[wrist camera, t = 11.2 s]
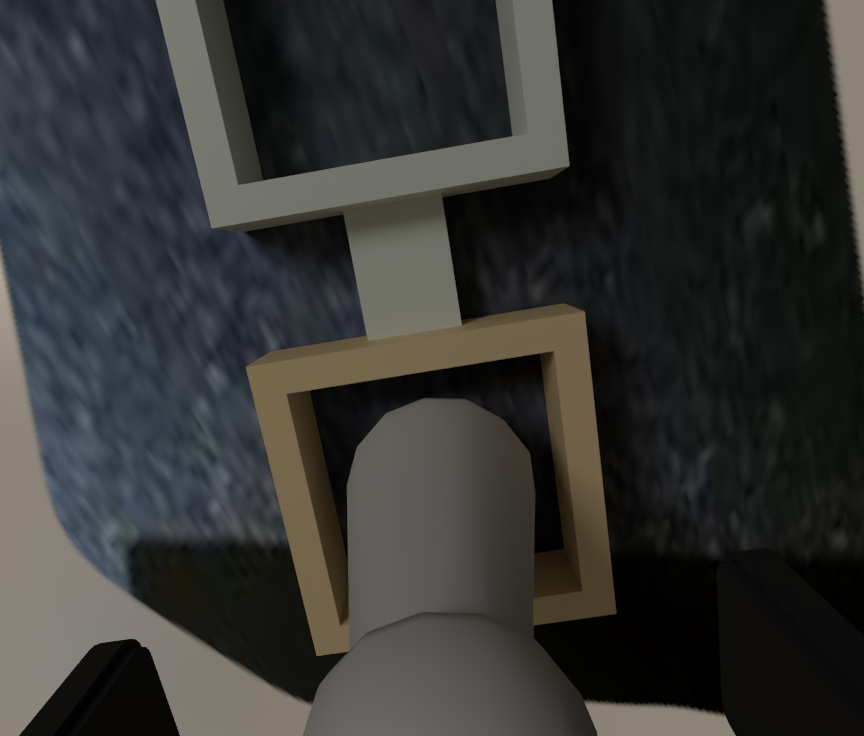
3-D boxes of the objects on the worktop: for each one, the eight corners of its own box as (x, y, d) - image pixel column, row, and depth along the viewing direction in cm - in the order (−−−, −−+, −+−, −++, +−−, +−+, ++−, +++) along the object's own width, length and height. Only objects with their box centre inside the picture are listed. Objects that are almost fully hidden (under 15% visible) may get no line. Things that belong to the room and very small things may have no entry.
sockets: (159, -125, 15) (107, -198, 13) (507, -196, 15) (522, -284, 12) (330, 607, 20) (316, 655, 18) (593, 569, 20) (616, 614, 17)
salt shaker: (432, 345, 18) (430, 568, 5) (555, 449, 19) (809, 861, 6) (326, 468, 19) (107, 904, 6) (447, 562, 20) (471, 1121, 7)
